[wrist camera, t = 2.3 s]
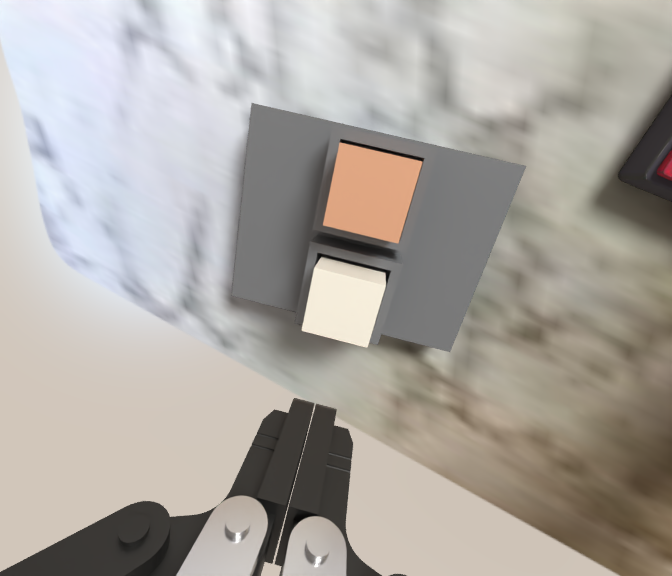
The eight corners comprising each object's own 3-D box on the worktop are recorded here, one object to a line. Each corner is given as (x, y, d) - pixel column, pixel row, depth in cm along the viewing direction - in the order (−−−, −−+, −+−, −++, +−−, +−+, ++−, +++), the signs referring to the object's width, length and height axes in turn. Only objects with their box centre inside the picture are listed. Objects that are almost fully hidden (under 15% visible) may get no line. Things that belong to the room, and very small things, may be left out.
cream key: (385, 272, 21) (385, 285, 19) (368, 329, 23) (367, 347, 21) (321, 256, 22) (314, 267, 19) (309, 314, 23) (301, 330, 21)
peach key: (417, 162, 19) (422, 161, 17) (396, 235, 20) (398, 243, 18) (344, 145, 19) (339, 142, 17) (329, 218, 21) (322, 225, 18)
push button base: (508, 166, 23) (545, 165, 18) (442, 333, 28) (456, 370, 23) (266, 110, 24) (235, 94, 19) (245, 283, 29) (216, 308, 24)
